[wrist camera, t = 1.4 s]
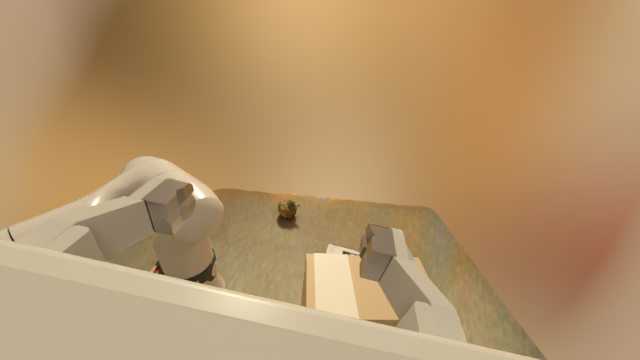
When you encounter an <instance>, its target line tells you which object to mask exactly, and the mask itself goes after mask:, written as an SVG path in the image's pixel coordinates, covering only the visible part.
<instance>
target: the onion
mask: <svg viewBox="0 0 640 360" xmlns="http://www.w3.org/2000/svg"><path fill="white" fill-rule="evenodd" d="M296 206H297V207H299V206H300V204H298V203H296V202H295V201H293V200H290V201H289V200H284V201H281V202H280V203H279V205H278V211H279V213H280V214H281V215H282V216H283V217H284V218H292V217H293V216H294V215H295V214H296V210H297V208H296Z"/></svg>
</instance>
